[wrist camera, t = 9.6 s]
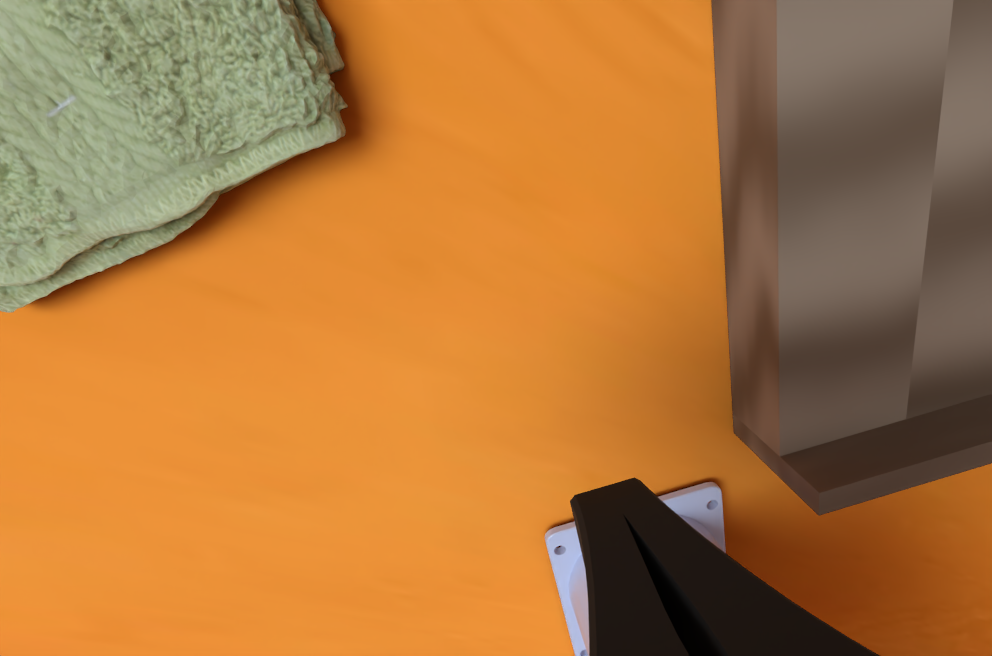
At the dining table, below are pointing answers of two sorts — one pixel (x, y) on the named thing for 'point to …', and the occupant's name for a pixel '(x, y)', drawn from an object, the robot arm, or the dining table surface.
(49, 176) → the washcloth
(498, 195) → the dining table surface
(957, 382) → the trap box
